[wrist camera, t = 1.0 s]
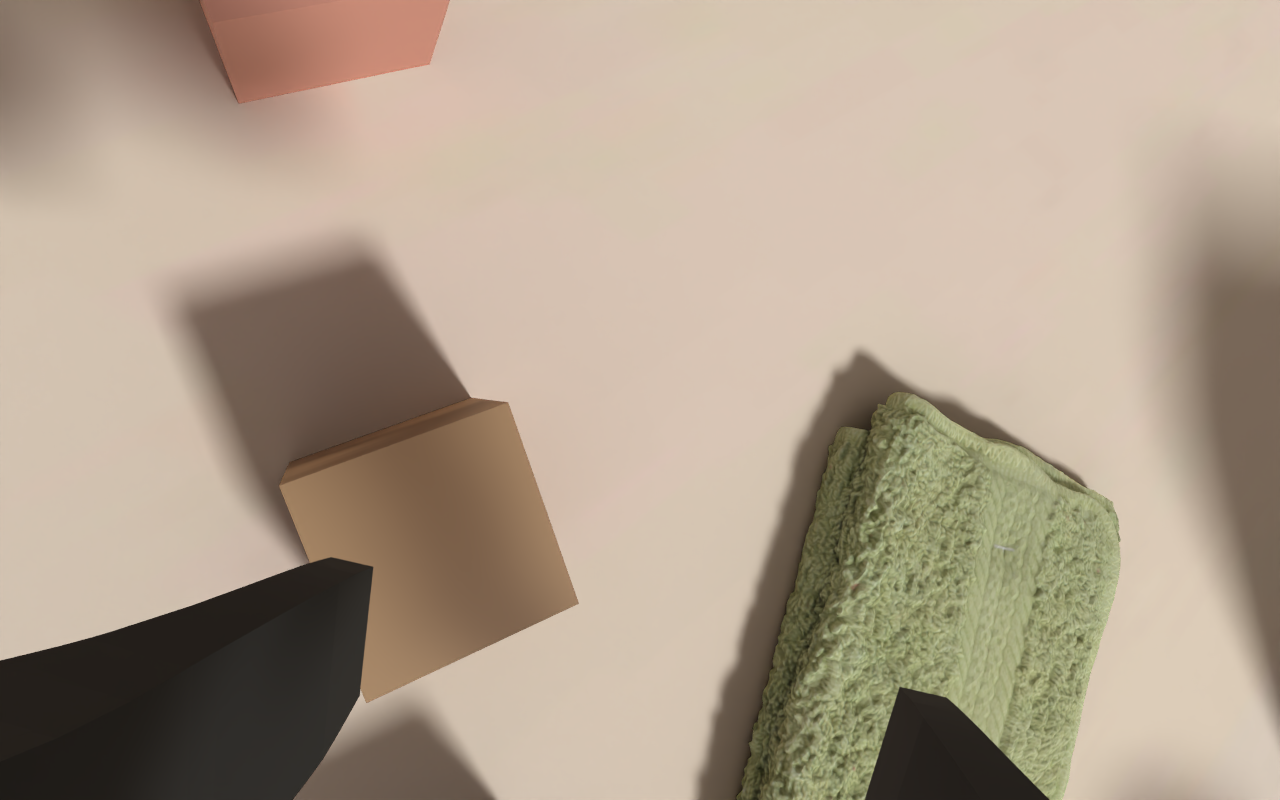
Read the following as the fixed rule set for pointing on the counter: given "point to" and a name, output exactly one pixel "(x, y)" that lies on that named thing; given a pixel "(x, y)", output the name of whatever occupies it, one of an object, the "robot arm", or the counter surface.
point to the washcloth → (935, 605)
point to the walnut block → (434, 536)
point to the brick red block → (319, 41)
